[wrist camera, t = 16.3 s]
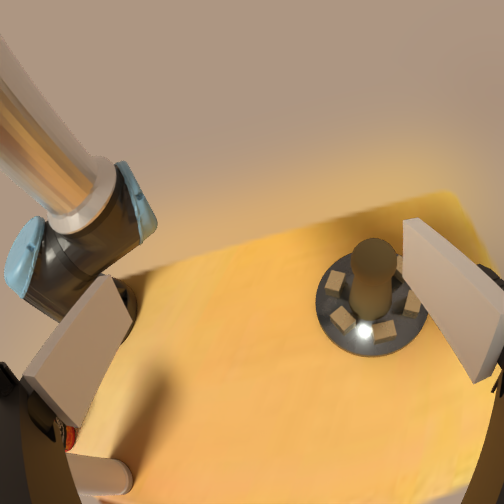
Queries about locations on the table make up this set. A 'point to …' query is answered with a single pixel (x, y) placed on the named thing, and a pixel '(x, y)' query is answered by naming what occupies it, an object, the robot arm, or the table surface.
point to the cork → (372, 279)
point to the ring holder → (358, 330)
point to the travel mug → (99, 475)
